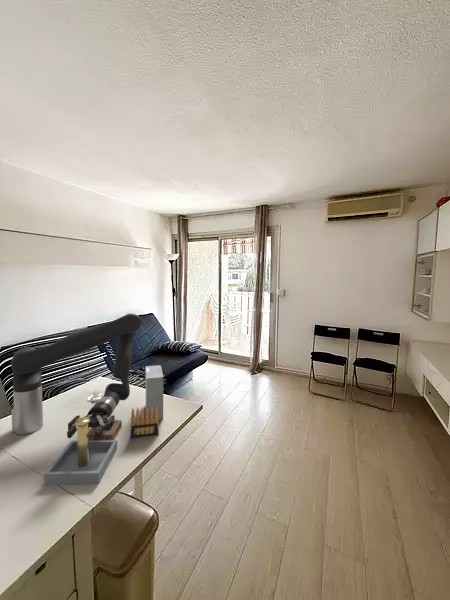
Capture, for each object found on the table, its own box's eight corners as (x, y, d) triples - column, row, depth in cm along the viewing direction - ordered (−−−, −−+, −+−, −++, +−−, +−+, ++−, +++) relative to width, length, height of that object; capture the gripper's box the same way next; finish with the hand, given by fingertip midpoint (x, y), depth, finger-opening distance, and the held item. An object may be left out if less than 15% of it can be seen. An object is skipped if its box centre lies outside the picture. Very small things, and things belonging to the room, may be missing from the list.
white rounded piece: (99, 403, 129) (99, 395, 128) (83, 402, 129) (83, 394, 129) (107, 395, 137) (107, 387, 137) (93, 394, 138) (92, 387, 137)
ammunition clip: (158, 432, 105) (158, 404, 104) (158, 435, 104) (158, 406, 102) (130, 435, 103) (130, 407, 102) (130, 438, 101) (130, 409, 100)
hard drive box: (145, 405, 127) (145, 366, 125) (161, 403, 130) (161, 364, 128) (145, 422, 112) (145, 378, 111) (163, 419, 115) (164, 376, 113)
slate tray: (44, 485, 78) (43, 474, 77) (72, 449, 94) (71, 440, 93) (98, 483, 79) (98, 473, 78) (117, 449, 95) (117, 440, 94)
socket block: (85, 442, 98) (85, 435, 97) (97, 427, 108) (97, 420, 107) (112, 442, 98) (112, 434, 98) (121, 427, 108) (121, 420, 108)
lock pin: (73, 468, 83) (72, 424, 82) (80, 458, 88) (78, 417, 86) (87, 468, 84) (86, 424, 82) (93, 458, 88) (92, 416, 87)
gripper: (83, 401, 100) (59, 425, 84) (121, 401, 101) (104, 424, 84) (83, 419, 100) (59, 446, 84) (121, 419, 101) (104, 446, 85)
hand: (82, 435), depth 84 cm, fingers open, 8 cm apart
